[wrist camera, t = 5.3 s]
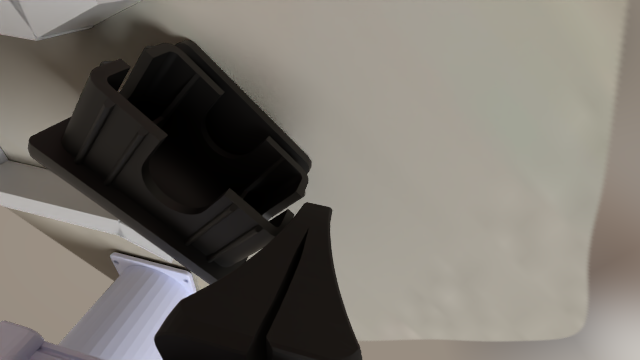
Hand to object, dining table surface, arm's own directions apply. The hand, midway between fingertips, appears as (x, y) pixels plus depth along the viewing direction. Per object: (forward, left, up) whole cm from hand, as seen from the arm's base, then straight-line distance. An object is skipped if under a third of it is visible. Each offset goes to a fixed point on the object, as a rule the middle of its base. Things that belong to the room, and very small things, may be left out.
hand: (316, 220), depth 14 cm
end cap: (0, +7, -5) cm, 8 cm away
